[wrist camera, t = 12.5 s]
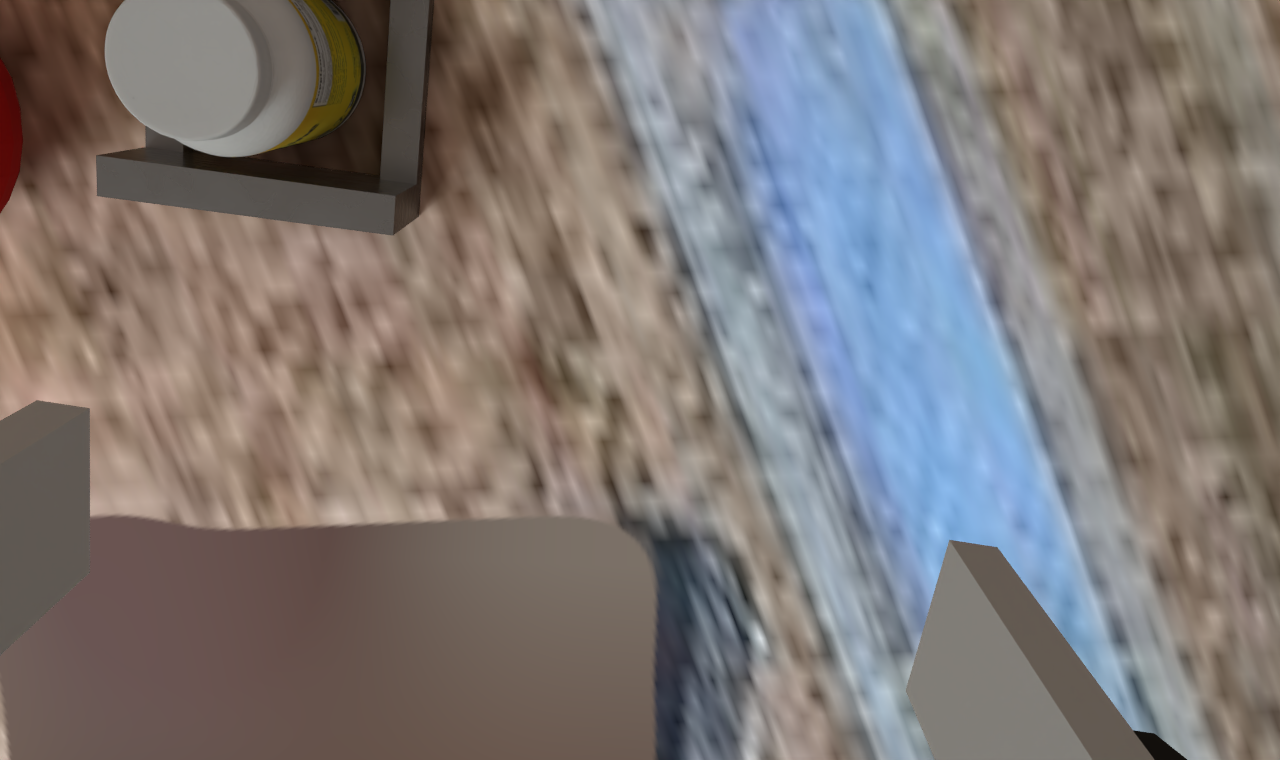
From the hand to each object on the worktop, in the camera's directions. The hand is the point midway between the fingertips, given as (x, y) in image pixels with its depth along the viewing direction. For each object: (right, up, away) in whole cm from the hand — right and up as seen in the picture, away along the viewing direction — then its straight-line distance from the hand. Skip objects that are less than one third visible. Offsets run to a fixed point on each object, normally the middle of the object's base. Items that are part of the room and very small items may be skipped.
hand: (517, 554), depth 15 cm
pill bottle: (-12, +16, +26) cm, 32 cm away
